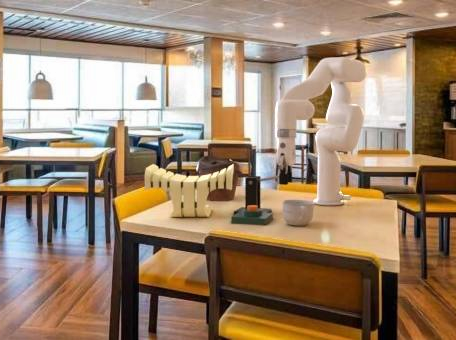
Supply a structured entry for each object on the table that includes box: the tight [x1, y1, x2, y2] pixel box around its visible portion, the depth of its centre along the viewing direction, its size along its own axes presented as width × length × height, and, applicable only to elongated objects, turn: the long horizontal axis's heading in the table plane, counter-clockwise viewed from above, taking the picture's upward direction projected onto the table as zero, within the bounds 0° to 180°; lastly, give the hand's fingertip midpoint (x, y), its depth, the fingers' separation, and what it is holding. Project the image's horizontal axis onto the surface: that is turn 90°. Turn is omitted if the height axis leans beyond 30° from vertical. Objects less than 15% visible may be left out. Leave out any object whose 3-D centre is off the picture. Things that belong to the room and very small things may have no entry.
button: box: [247, 205, 258, 211], centre depth 188 cm, size 4×4×2 cm
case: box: [196, 155, 244, 202], centre depth 230 cm, size 18×20×18 cm
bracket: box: [233, 175, 273, 216], centre depth 201 cm, size 12×9×14 cm
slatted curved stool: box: [144, 163, 234, 218], centre depth 197 cm, size 30×16×18 cm, turn 96°
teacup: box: [282, 199, 315, 227], centre depth 182 cm, size 14×11×8 cm
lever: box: [256, 173, 290, 184], centre depth 199 cm, size 15×5×2 cm, turn 77°
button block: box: [230, 208, 274, 226], centre depth 188 cm, size 12×10×4 cm
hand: (285, 182), depth 198 cm, fingers closed on lever, 5 cm apart
